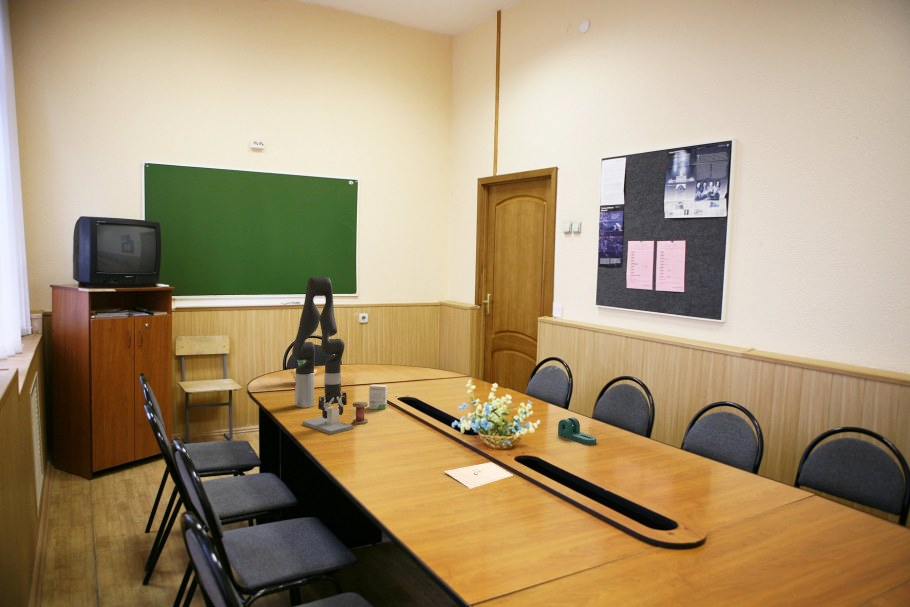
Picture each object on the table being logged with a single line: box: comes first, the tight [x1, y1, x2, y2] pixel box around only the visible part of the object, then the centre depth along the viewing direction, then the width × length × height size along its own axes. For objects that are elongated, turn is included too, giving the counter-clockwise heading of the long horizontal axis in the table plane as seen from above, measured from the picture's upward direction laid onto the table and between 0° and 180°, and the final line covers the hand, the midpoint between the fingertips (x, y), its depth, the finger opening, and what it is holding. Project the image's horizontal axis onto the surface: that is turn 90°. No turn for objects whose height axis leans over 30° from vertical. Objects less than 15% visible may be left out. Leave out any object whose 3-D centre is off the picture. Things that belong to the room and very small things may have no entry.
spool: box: [352, 401, 369, 425], centre depth 282 cm, size 7×7×9 cm
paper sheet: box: [443, 462, 514, 490], centre depth 213 cm, size 24×29×1 cm
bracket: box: [557, 416, 598, 446], centre depth 262 cm, size 18×7×8 cm, turn 37°
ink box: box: [368, 384, 388, 410], centre depth 308 cm, size 9×5×12 cm, turn 84°
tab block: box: [326, 406, 340, 425], centre depth 276 cm, size 4×4×8 cm
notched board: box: [302, 416, 354, 435], centre depth 274 cm, size 22×12×2 cm, turn 48°
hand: (332, 416), depth 276 cm, fingers open, 8 cm apart
